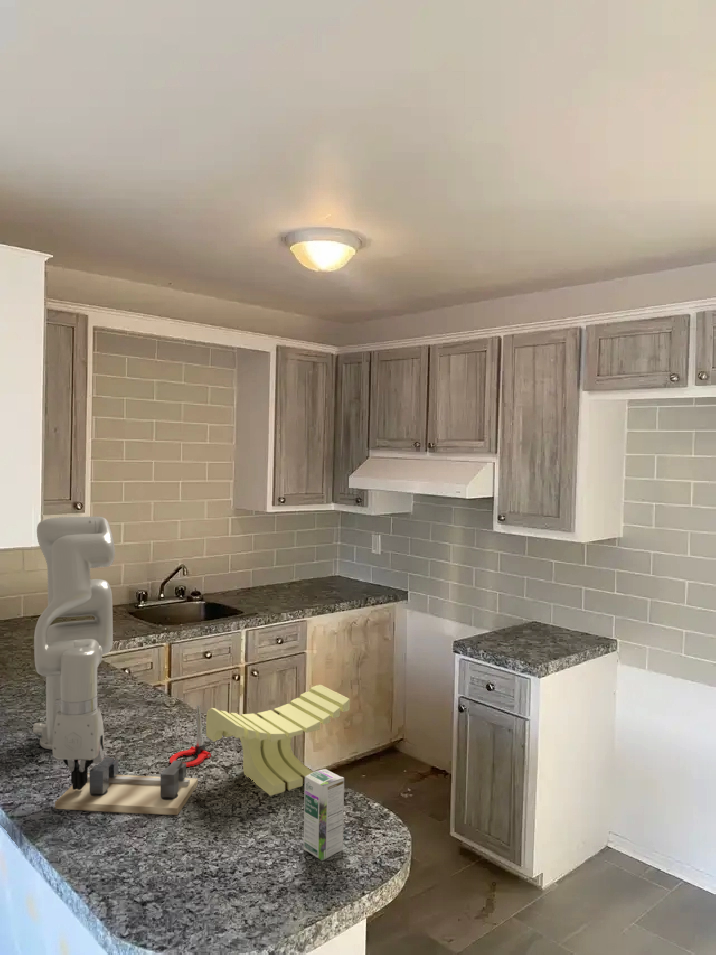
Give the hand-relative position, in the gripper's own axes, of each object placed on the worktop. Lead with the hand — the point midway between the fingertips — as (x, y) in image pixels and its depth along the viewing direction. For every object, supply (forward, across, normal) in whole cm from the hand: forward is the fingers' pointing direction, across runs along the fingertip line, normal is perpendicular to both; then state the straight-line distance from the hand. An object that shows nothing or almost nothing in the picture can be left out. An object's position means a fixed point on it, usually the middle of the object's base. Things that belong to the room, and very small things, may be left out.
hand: (79, 786), depth 159 cm
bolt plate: (+3, +10, +2) cm, 11 cm away
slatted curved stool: (+3, +42, +16) cm, 45 cm away
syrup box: (+3, +56, -15) cm, 59 cm away
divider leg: (+1, +5, +3) cm, 5 cm away
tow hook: (+3, +18, +22) cm, 28 cm away
